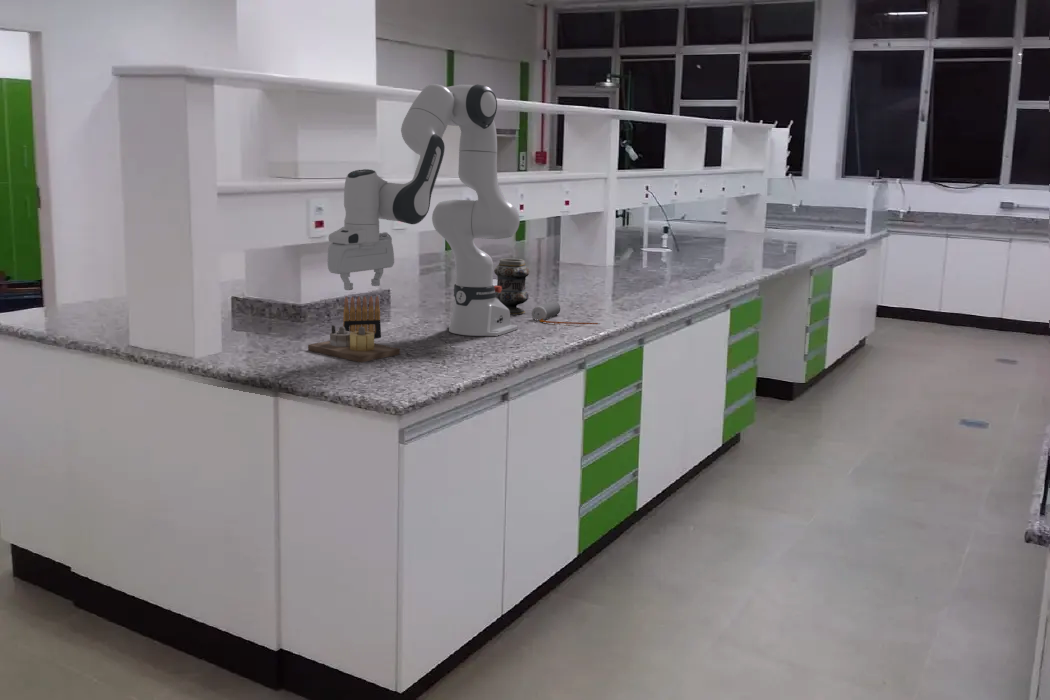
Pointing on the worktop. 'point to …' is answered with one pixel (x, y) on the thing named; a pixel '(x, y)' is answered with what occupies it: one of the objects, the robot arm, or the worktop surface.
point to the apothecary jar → (512, 283)
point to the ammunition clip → (362, 316)
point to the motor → (549, 312)
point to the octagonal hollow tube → (362, 341)
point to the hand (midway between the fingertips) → (362, 287)
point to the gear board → (341, 347)
